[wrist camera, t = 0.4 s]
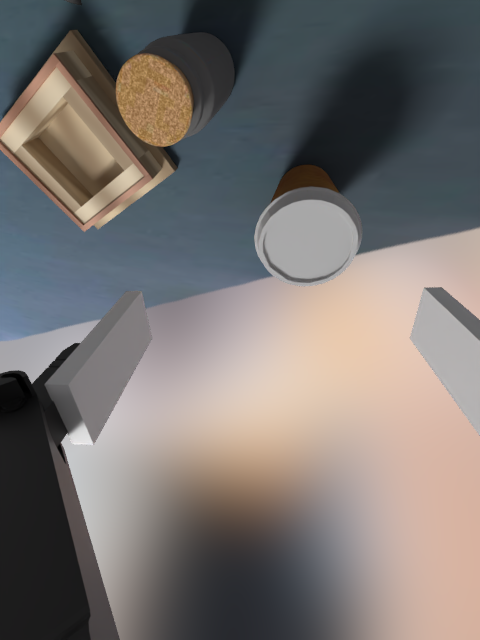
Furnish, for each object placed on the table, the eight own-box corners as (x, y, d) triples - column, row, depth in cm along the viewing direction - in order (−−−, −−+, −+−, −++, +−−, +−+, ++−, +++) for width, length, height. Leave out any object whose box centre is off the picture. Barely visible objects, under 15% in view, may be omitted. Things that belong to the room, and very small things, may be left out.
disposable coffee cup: (250, 167, 35) (236, 216, 26) (338, 132, 32) (354, 175, 23) (277, 240, 41) (273, 299, 32) (354, 217, 37) (371, 276, 29)
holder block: (77, 29, 29) (49, 31, 25) (177, 167, 36) (166, 182, 33) (3, 124, 35) (-26, 134, 32) (101, 224, 42) (86, 241, 39)
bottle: (163, 76, 30) (90, 107, 20) (198, 12, 27) (133, 8, 16) (210, 124, 33) (168, 175, 22) (248, 70, 29) (220, 100, 18)
